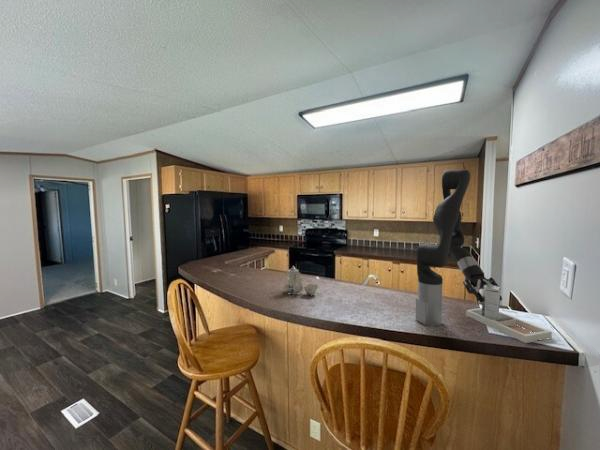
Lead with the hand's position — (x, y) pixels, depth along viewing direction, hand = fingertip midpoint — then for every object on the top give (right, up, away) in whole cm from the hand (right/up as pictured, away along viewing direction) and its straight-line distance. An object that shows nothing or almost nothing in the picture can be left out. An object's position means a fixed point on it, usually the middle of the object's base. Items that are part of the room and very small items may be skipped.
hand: (491, 301), depth 108 cm
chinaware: (-83, -8, +42) cm, 94 cm away
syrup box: (0, -8, +1) cm, 8 cm away
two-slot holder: (+1, -9, -5) cm, 10 cm away
